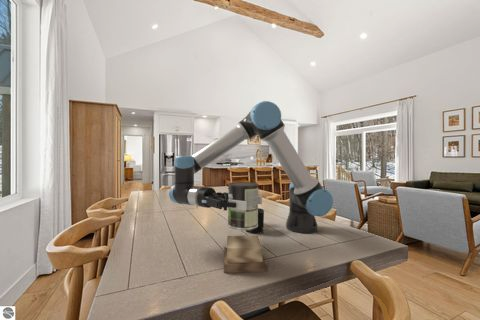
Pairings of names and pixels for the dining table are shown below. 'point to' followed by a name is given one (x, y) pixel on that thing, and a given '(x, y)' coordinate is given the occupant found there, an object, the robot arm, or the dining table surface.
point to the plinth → (243, 265)
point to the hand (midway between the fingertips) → (254, 203)
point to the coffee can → (249, 194)
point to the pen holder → (260, 223)
